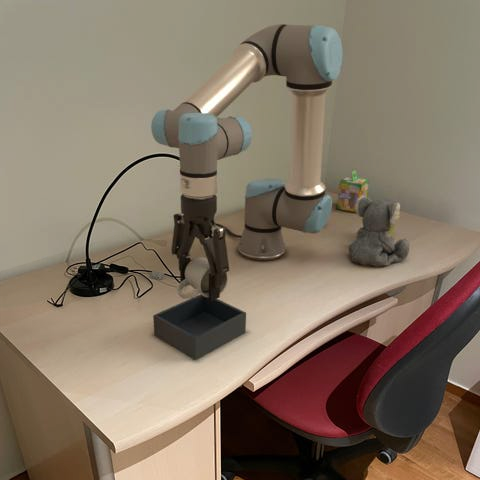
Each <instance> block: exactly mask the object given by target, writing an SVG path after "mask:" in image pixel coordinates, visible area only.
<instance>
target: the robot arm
mask: <svg viewBox="0 0 480 480" xmlns="http://www.w3.org/2000/svg"><path fill="white" fill-rule="evenodd" d="M343 55H344V54H343V45H342V41H341V37H340V36H339V33H338V32H337V31H336V29H334V28H333V27H330V26H323V25H320V24H285V23H284V24H283V23H278V24H273V25H269V26H266V27H264V28H262V29H261V30H258V31H256V32H255V33H253V34H251V35H250V36H249V37H247V38H246V39H244V40H243V41H242V42H241V43H239V45H237V46H236V48H235V49H234V51H233V53H232V56H231V57H230V59H228V60H227V61H225V63H224V64H223V65H222V66H221V67H220V68H218V70H216V71H215V72H214V73H213V74H212V75H211V76H210V77H209V78H208V79H207V80H205V81H204V82H203V83H202V84H201V85H200V86H199V87H197V88H196V89H195V90H194V92H192V93H191V94H190V95H189V96H188V97H186V99H185V100H183V101H182V102H181V103H180V104H179V105H178V106H177V107H176V108H174V109H173V110H171V109H160V110H157V112H155V114H154V115H153V118H152V119H151V125H150V130H151V134H152V138H153V139H154V141H155V143H158V145H162V146H166V147H169V148H175V149H178V152H179V153H178V154H179V186H180V187H179V188H180V193H181V195H180V197H179V198H180V212H177V213H174V214H173V223H174V224H173V225H174V226H173V233H172V242H171V251H170V252H171V254H172V255H175V256H176V258H177V260H178V271H179V281H180V283H181V282H182V281H183V280H185V279H186V278H185V269H186V266H187V264H188V263H189V262H190V261H191V260H192V258H191V257H190V256H191V254H190V252H191V249H192V246H193V244H194V242H195V239H198V240H199V243H200V245H202V248H203V250H204V253H205V258H207V260H208V263H209V266H210V269H211V273H209V301H213V300H215V299H220V297H221V294H220V286H221V285H222V274H224V273H226V272H227V273H228V272H230V264H229V257H228V250H227V242H226V235H227V233H228V235H230V236H232V237H234V238H238V239H240V240H239V242H238V244H237V245H238V246H237V252H238V254H239V255H240V256H242V257H243V258H245V259H248V260H252V261H259V262H270V261H276V260H279V259H281V258H283V257H284V256H285V254H286V243H285V242H284V237H283V232H282V228H286V229H290V230H294V231H298V232H302V233H305V234H306V233H308V234H313V235H315V234H318V233H320V231H322V230H323V228H324V227H325V226H326V224H327V222H328V220H329V218H330V215H331V212H332V207H333V199H332V196H330V195H329V194H326V185H325V184H324V183H323V182H322V179H321V178H322V162H323V145H324V144H323V143H324V128H325V127H324V125H325V106H326V93H327V92H328V90H330V89H331V88H332V86H333V81H335V80H336V79H337V78H338V77H339V75H340V73H341V71H342V70H341V67H342V66H343V57H344V56H343ZM269 76H279V77H285V86H286V88H287V90H288V91H289V92H290V93H291V123H290V124H291V125H290V126H291V129H290V131H291V132H290V139H291V140H290V179H289V181H288V182H287V183H285V180H284V179H282V178H276V177H275V178H273V177H272V178H271V177H270V178H259V179H255V180H252V181H250V182H248V184H247V185H246V188H245V195H244V226H243V227H244V228H243V231H242V234H241V235H240V234H236V233H234V232H232V231H231V230H230V229H229V228H227V226H225V225H223V224H220V223H217V222H215V215H216V213H217V211H218V196H217V195H216V194H217V193H218V161H219V160H222V159H225V158H229V157H233V156H237V155H240V153H243V152H245V151H246V150H247V149H248V148H249V147H250V146H251V143H252V141H253V140H252V139H253V132H252V131H253V130H252V128H251V125H250V124H249V122H248V121H247V120H246V119H245V118H243V117H240V116H227V117H219V116H220V115H221V114H223V112H224V111H225V110H226V109H227V108H228V107H229V106H231V104H232V103H233V102H234V101H235V100H236V99H237V98H238V97H239V96H240V95H241V94H242V93H243V92H244V91H246V90H247V88H248V87H249V86H250V85H252V84H253V83H258V82H260V81H261V80H263V79H264V78H265V77H269ZM216 267H217V268H216ZM180 283H179V284H180ZM187 286H190V285H189V284H187V285H186V286H185V287H187Z"/></svg>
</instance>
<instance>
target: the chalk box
mask: <svg viewBox="0 0 480 480" xmlns="http://www.w3.org/2000/svg"><path fill="white" fill-rule="evenodd" d="M369 182H370V180H369V179H367V178H362V177H358V176H357V170H356V169H355V170H353V171H351V176H346V177H344V178H342V179H340V180H339V187H338V189H339V190H338V197H337V207H336V210H340V211H346V212H352V213H356V211H355V208H356V207H355V205H356V204H357V202H356V201H357V199H358V198H359V197H363V196H365V197H368V189H369V184H370V183H369Z"/></svg>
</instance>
